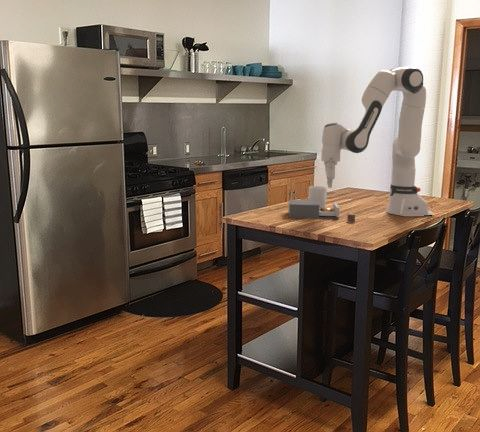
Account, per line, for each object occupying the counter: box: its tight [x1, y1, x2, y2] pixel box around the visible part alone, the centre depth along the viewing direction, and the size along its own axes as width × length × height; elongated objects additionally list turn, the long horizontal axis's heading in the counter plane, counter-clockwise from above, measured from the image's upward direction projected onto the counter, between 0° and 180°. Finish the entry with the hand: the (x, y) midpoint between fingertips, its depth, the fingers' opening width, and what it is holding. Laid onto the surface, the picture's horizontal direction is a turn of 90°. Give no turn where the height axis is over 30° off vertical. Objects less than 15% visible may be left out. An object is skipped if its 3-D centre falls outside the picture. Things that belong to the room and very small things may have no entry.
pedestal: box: [346, 212, 356, 223], centre depth 250 cm, size 3×3×4 cm
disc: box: [320, 206, 333, 212], centre depth 261 cm, size 6×6×2 cm
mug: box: [307, 185, 328, 208], centre depth 281 cm, size 12×9×11 cm
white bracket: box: [319, 202, 340, 218], centre depth 261 cm, size 14×13×5 cm
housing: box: [288, 199, 339, 220], centre depth 262 cm, size 23×13×6 cm, turn 87°
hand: (329, 186), depth 259 cm, fingers open, 8 cm apart
